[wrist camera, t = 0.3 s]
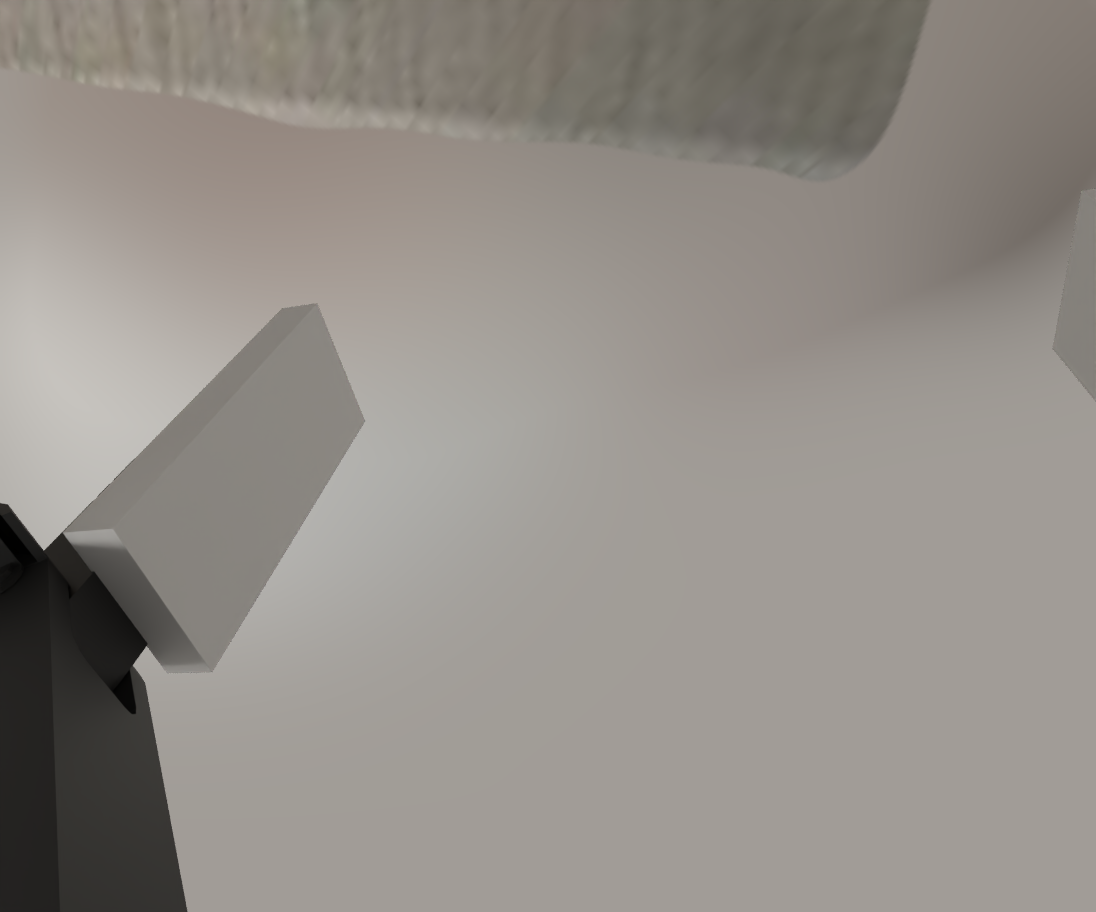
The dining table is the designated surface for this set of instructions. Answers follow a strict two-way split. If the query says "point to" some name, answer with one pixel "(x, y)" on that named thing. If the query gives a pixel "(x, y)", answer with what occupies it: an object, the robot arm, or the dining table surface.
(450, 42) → the dining table surface
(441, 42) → the dining table surface
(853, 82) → the dining table surface
